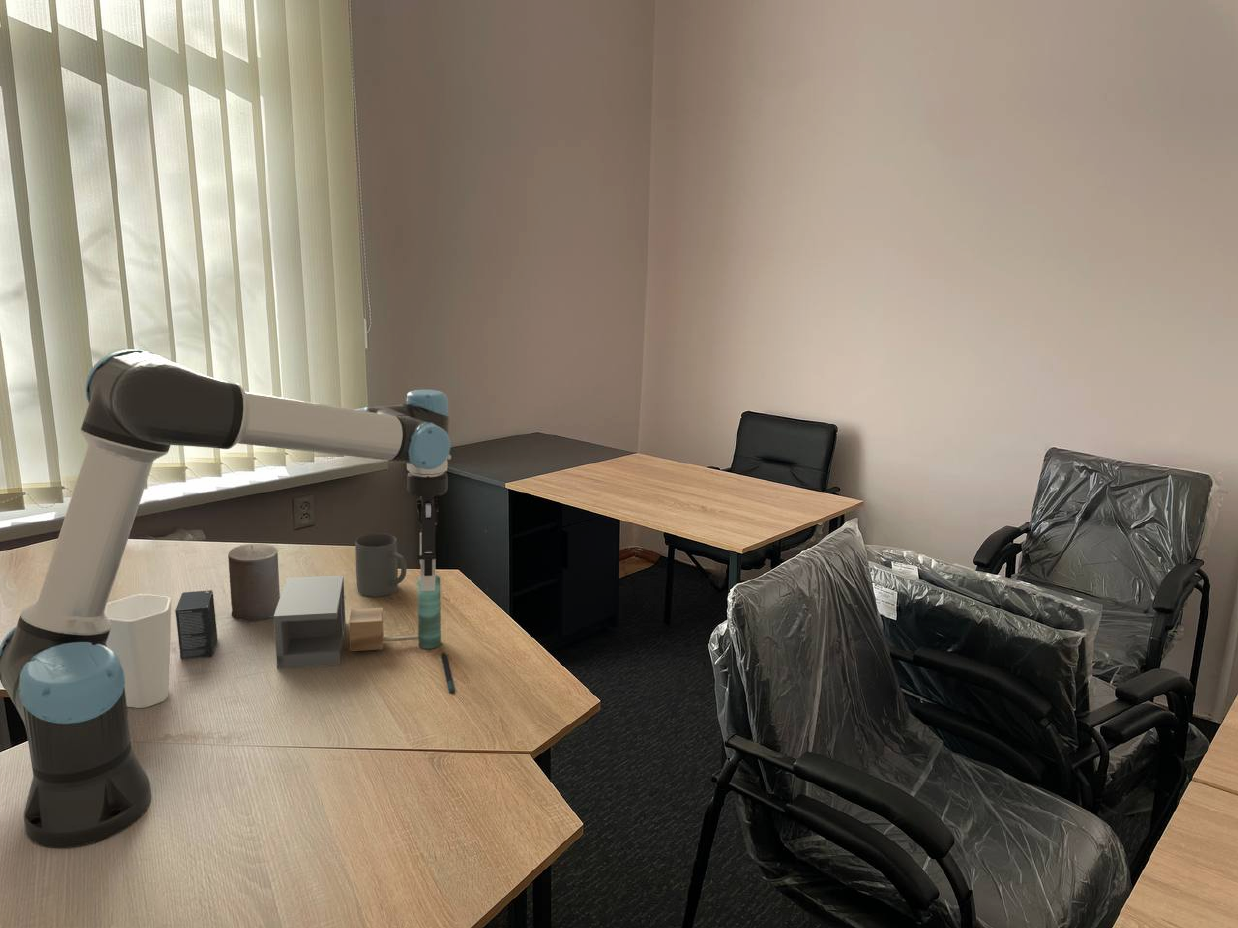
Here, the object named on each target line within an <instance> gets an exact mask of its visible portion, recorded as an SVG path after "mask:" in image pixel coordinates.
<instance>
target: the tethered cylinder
mask: <svg viewBox="0 0 1238 928" xmlns="http://www.w3.org/2000/svg"><path fill="white" fill-rule="evenodd" d="M416 584H417V633H418V635H401V636H400V635H399V636H387V637H384V634H385V633H384V607H371V608H355V609H354V608H353V609H351V610H350V616H349V617H350V618H349V626H348V627H349V643H350V644H349V648H350V652H358V651H359V652H360V651H373V650H383V649H384V643H385V642H386V643H387V642H400V641H401V642H405V641H417V640H418V646H419V648H422V649H428V650H429V649H430V650H431V649H435V648H438V647H439V646H440V647H441V644H442V638H441V637H442V631H441V630H442V623H441V622H442V621H441V620H442V619H441V618H442V617H441V616H442V615H441V614H442V613H441V610H442V609H441V608H442V607H441V602H442V601H441V577H440V576H439V575H436V574H435V591H421V575H420V576H418V577H417V583H416Z"/></svg>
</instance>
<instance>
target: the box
mask: <svg viewBox="0 0 1238 928" xmlns="http://www.w3.org/2000/svg"><path fill="white" fill-rule="evenodd" d="M214 599H215V598H214V592H213V590H212V589H209V590H197V591H188V592H187V591H186V592H182V593H181V595H180V598H179V600H178V603H177V605H176V607H175V611H174V612H175V618H176V628H177V629H176V630H177V637H178V640H177V641H178V647H179V656H180V660H182V661H183V660H191V659H205V658H211V657H213V656H214V655H213V654H214V651H215V648H216V644H217V641H218V630H217V620H216V610H215V602H214Z"/></svg>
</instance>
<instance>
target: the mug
mask: <svg viewBox="0 0 1238 928" xmlns="http://www.w3.org/2000/svg"><path fill="white" fill-rule="evenodd" d="M397 541H398V540H397V538H396V537H395V536H394V535H392V534H387V533H380V532H379V533H378V532H377V533H369V534H365V535H361V536H359V537H358V538H356V539H355V545H354V547H355V548H354V550H355V551H354V552H355V553H354V555H355V557H354V558H355V579H356V590H357V593H359V594H360V595H361V596H365V597H370V598H380V597H386V596H389V595H391V594H394V593H395V592H396V591H397V590H398V586H399V584H400V583H401V582H403V581H404V579H405V578H406V576H407V561H406V559H405V557H404V556H403V555H402V554H400V553H398V542H397ZM398 561H399V562H400V575H399V570H398V568H399V567H398V565H399V564H398Z"/></svg>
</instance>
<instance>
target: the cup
mask: <svg viewBox="0 0 1238 928" xmlns="http://www.w3.org/2000/svg"><path fill="white" fill-rule="evenodd" d="M104 613H105V615H106V617H107V618H108V620H109V621H110V622H111V624H112V626H111V630H110V633H109V636H108V639H107V642H106V645H107V647H108V648H110V649H111V650H113V651H114V652H115V653H116V654H117V656H118V657H119V659H120V662H121V666H122V668H123V671H124V677H125V684H124V687H125V696H126V705H127V708H136V709H144V708H148V707H151V706H153V705H157V704H159V703H163V702H164V701H165V700H167V698H168V694H169V691H170V690H169V689H170V666H171V663H170V662H171V660H170V659H171V658H170V657H171V627H172V626H171V623H172V598H171V597H169V596H165V595H158V594H157V595H156V594H149V593H140V594H135V595H130V596H126V597H124V598H120V599H117V600H112V601H110V602H107V605H106V608H105V611H104Z"/></svg>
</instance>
